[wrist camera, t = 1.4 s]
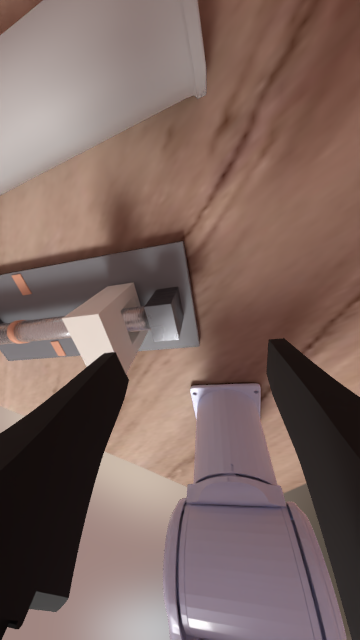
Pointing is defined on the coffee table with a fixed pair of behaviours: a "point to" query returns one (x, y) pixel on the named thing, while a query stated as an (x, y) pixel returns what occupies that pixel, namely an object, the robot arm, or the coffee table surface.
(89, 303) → the collar
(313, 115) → the coffee table surface
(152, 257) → the rod board
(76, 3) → the tube
